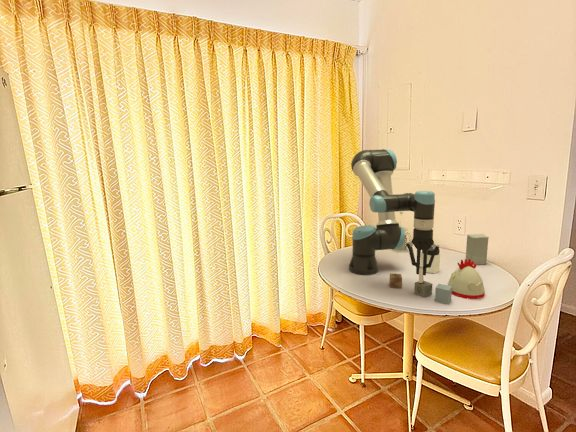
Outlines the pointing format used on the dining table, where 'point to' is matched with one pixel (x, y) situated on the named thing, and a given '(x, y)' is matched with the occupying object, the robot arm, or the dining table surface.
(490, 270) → the dining table surface
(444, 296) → the slate block
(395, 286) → the walnut block
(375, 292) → the dining table surface
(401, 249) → the french press
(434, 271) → the jar
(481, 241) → the skincare box
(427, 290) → the dice cube
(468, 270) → the kitchen timer
